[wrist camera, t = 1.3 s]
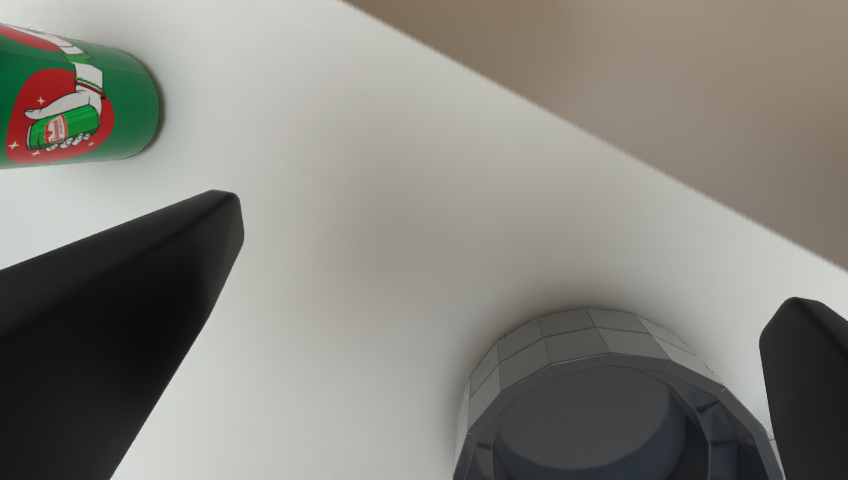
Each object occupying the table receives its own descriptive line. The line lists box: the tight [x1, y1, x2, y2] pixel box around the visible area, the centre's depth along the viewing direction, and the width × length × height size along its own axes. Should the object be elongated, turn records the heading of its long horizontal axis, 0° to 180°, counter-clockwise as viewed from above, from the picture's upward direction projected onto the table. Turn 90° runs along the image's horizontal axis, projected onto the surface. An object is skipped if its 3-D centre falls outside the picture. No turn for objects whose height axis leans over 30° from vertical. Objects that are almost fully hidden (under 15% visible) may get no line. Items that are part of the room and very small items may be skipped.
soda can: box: [0, 23, 159, 169], centre depth 19 cm, size 5×5×12 cm
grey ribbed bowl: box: [453, 308, 783, 480], centre depth 22 cm, size 12×12×6 cm
